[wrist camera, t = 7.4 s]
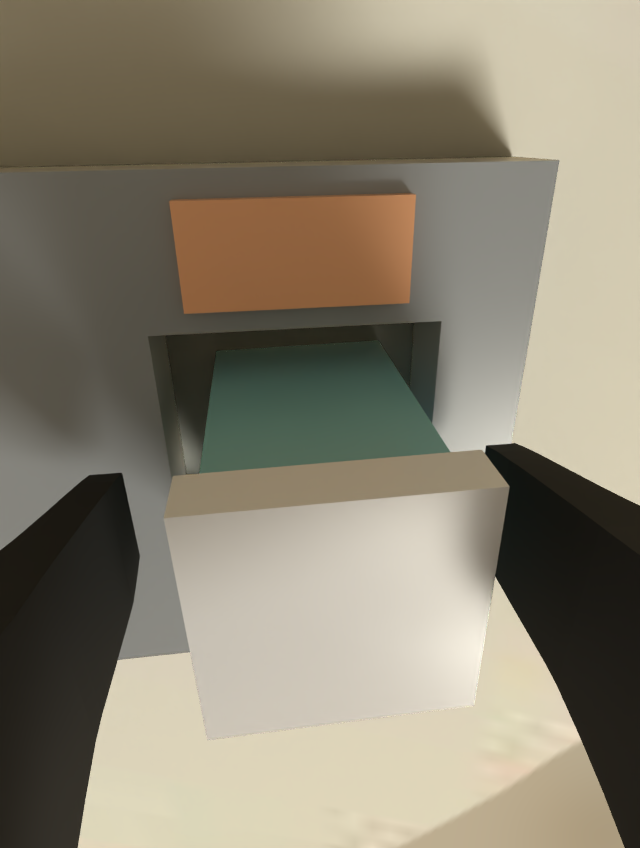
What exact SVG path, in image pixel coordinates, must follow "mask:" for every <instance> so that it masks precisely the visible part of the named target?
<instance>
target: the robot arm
mask: <svg viewBox="0 0 640 848" xmlns="http://www.w3.org/2000/svg"><path fill="white" fill-rule="evenodd" d="M485 454H486V456H487V457H488V458H489V460H490V461H491V462H492V464H493V465H494V466H495V468H496V469H497V470H498V472H499V473H500V474H501V476H502V477H503V478H504V480H505V481H506V482H507V484H508V485H509V486H510V487H509V493H508V499H507V505H506V512H505V518H504V524H503V530H502V536H501V543H500V549H499V555H498V561H497V568H496V574H495V576H496V578H497V580H498V582H499V584H500V585H501V587H502V589H503V591H504V592H505V594H506V596H507V598H508V599H509V601H510V603H511V605H512V606H513V608H514V610H515V612H516V613H517V615H518V617H519V619H520V620H521V622H522V624H523V625H524V627H525V629H526V631H527V632H528V634H529V636H530V638H531V639H532V641H533V643H534V644H535V646H536V648H537V650H538V651H539V653H540V655H541V657H542V658H543V660H544V662H545V664H546V665H547V667H548V669H549V671H550V673H551V675H552V677H553V679H554V681H555V683H556V685H557V687H558V689H559V691H560V693H561V695H562V698H563V700H564V702H565V704H566V707H567V709H568V711H569V713H570V716H571V718H572V720H573V722H574V724H575V727H576V729H577V731H578V733H579V736H580V738H581V740H582V743H583V745H584V747H585V750H586V752H587V754H588V757H589V759H590V762H591V764H592V766H593V769H594V771H595V774H596V776H597V778H598V781H599V783H600V785H601V788H602V790H603V793H604V795H605V798H606V800H607V803H608V806H609V808H610V811H611V813H612V816H613V819H614V821H615V824H616V826H617V829H618V832H619V834H620V837H621V839H622V842H623V844H624V847H625V848H640V506H639V505H637V504H635V503H633V502H631V501H629V500H627V499H625V498H623V497H621V496H619V495H617V494H615V493H613V492H611V491H609V490H607V489H605V488H603V487H601V486H599V485H597V484H595V483H593V482H591V481H589V480H587V479H585V478H583V477H582V476H580V475H578V474H576V473H574V472H572V471H570V470H568V469H566V468H565V467H563V466H561V465H559V464H557V463H555V462H553V461H551V460H549V459H547V458H545V457H544V456H542V455H540V454H538V453H536V452H534V451H531V450H529V449H527V448H525V447H523V446H520V445H518V444H515V443H512V444H499V445H486V449H485ZM139 560H140V553H139V549H138V544H137V540H136V535H135V530H134V526H133V521H132V516H131V512H130V507H129V502H128V498H127V493H126V488H125V484H124V479H123V474H122V473H110V474H96V475H89V476H87V477H86V478H85V479H83V480H82V481H81V482H80V483H79V484H77V485H76V486H75V487H74V488H73V489H72V490H70V491H69V492H68V493H67V494H66V495H65V496H64V497H62V498H61V499H60V500H59V501H58V502H57V503H56V504H54V505H53V506H52V507H51V508H50V509H49V510H48V511H47V512H45V513H44V514H43V515H42V516H41V517H40V518H38V519H37V520H36V521H35V522H34V523H33V524H31V525H30V526H29V527H28V528H27V529H26V530H24V531H23V532H22V533H21V534H20V535H19V536H17V537H16V538H15V539H14V540H13V541H11V542H10V543H9V544H8V545H6V546H5V547H4V548H2V549H1V550H0V848H77V847H78V841H79V835H80V829H81V823H82V816H83V810H84V804H85V798H86V792H87V787H88V781H89V776H90V770H91V765H92V759H93V753H94V748H95V742H96V738H97V734H98V729H99V725H100V721H101V717H102V713H103V709H104V706H105V702H106V699H107V695H108V692H109V688H110V685H111V681H112V678H113V674H114V671H115V667H116V664H117V660H118V657H119V653H120V650H121V646H122V643H123V639H124V636H125V632H126V629H127V625H128V621H129V618H130V614H131V610H132V607H133V603H134V596H135V590H136V583H137V576H138V568H139Z"/></svg>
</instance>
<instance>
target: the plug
mask: <svg viewBox="0 0 640 848" xmlns="http://www.w3.org/2000/svg"><path fill="white" fill-rule="evenodd" d="M509 487H510V486H509V485H508V484H507V482H506V481H505V480H504V478H503V477H502V476H501V474H500V473H499V472H498V470H497V469H496V468H495V466H494V465H493V464H492V462H491V461H490V460H489V458H488V457H487V456H486V454H485V453H484V452H483V450H471V451H459V452H450V451H449V449H448V447H447V446H446V444H445V443H444V441H443V440H442V438H441V437H440V435H439V433H438V432H437V430H436V429H435V427H434V426H433V424H432V423H431V421H430V420H429V418H428V416H427V415H426V413H425V412H424V410H423V409H422V407H421V406H420V404H419V402H418V401H417V399H416V398H415V396H414V395H413V393H412V392H411V390H410V389H409V387H408V385H407V384H406V382H405V381H404V379H403V378H402V376H401V375H400V373H399V371H398V370H397V368H396V367H395V365H394V364H393V362H392V361H391V359H390V357H389V356H388V354H387V353H386V351H385V350H384V348H383V347H382V345H381V344H380V342H379V340H376V341H360V342H345V343H329V344H314V345H299V346H284V347H268V348H253V349H238V350H222V351H216V357H215V364H214V371H213V378H212V385H211V393H210V400H209V407H208V414H207V421H206V428H205V435H204V443H203V450H202V457H201V464H200V471H199V474H188V475H177V476H173V477H172V482H171V487H170V491H169V496H168V500H167V505H166V510H165V514H164V523H165V528H166V533H167V538H168V543H169V548H170V553H171V558H172V563H173V568H174V573H175V579H176V584H177V589H178V594H179V599H180V604H181V609H182V614H183V619H184V624H185V629H186V634H187V639H188V645H189V650H190V655H191V660H192V665H193V670H194V675H195V680H196V685H197V690H198V695H199V700H200V705H201V711H202V716H203V721H204V726H205V731H206V736H207V740H214V739H221V738H229V737H237V736H245V735H252V734H260V733H268V732H276V731H283V730H291V729H299V728H307V727H314V726H322V725H330V724H338V723H345V722H353V721H361V720H369V719H376V718H384V717H392V716H400V715H407V714H415V713H423V712H431V711H439V710H446V709H454V708H462V707H470V706H474V704H475V698H476V692H477V685H478V679H479V673H480V667H481V661H482V654H483V648H484V642H485V636H486V630H487V623H488V617H489V611H490V605H491V599H492V592H493V586H494V580H495V574H496V568H497V561H498V555H499V549H500V543H501V536H502V530H503V524H504V518H505V512H506V505H507V499H508V493H509Z"/></svg>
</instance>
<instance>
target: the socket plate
mask: <svg viewBox="0 0 640 848" xmlns="http://www.w3.org/2000/svg"><path fill="white" fill-rule="evenodd" d="M558 165H559V160H550V159H537V158H524V157H475V158H428V159H381V160H334V161H287V162H240V163H193V164H146V165H99V166H52V167H5V168H0V550H1V549H2V548H4V547H5V546H6V545H8V544H9V543H10V542H11V541H13V540H14V539H15V538H16V537H17V536H19V535H20V534H21V533H22V532H23V531H24V530H26V529H27V528H28V527H29V526H30V525H31V524H33V523H34V522H35V521H36V520H37V519H38V518H40V517H41V516H42V515H43V514H44V513H45V512H47V511H48V510H49V509H50V508H51V507H52V506H53V505H54V504H56V503H57V502H58V501H59V500H60V499H61V498H62V497H64V496H65V495H66V494H67V493H68V492H69V491H70V490H72V489H73V488H74V487H75V486H76V485H77V484H79V483H80V482H81V481H82V480H83V479H85V478H86V477H87V476H89V475H96V474H110V473H122V474H123V479H124V484H125V488H126V493H127V498H128V502H129V507H130V512H131V516H132V521H133V526H134V530H135V535H136V540H137V544H138V549H139V553H140V560H139V568H138V576H137V583H136V590H135V596H134V603H133V607H132V610H131V614H130V618H129V621H128V625H127V629H126V632H125V636H124V639H123V643H122V646H121V650H120V653H119V657H118V660H121V659H130V658H140V657H149V656H158V655H168V654H177V653H186V652H190V650H189V645H188V639H187V634H186V629H185V624H184V619H183V614H182V609H181V604H180V599H179V594H178V589H177V584H176V579H175V573H174V568H173V563H172V558H171V553H170V548H169V543H168V538H167V533H166V528H165V523H164V514H165V510H166V505H167V500H168V496H169V491H170V487H171V482H172V477H173V476H177V475H186V468H185V461H184V455H183V448H182V441H181V435H180V428H179V422H178V415H177V408H176V402H175V395H174V388H173V382H172V375H171V369H170V362H169V355H168V349H167V342H166V335H181V334H201V333H220V332H240V331H259V330H279V329H298V328H318V327H338V326H357V325H377V324H396V323H414V329H413V344H412V359H411V374H410V390H411V392H412V393H413V395H414V396H415V398H416V399H417V401H418V402H419V404H420V406H421V407H422V409H423V410H424V412H425V413H426V415H427V416H428V418H429V420H430V421H431V423H432V424H433V426H434V427H435V429H436V430H437V432H438V433H439V435H440V437H441V438H442V440H443V441H444V443H445V444H446V446H447V447H448V449H449V451H450V452H459V451H471V450H483V452H484V453H485V449H486V445H499V444H511V443H512V437H513V431H514V426H515V420H516V414H517V408H518V402H519V396H520V390H521V384H522V378H523V372H524V366H525V360H526V354H527V349H528V343H529V337H530V331H531V325H532V319H533V313H534V307H535V301H536V295H537V289H538V283H539V278H540V272H541V266H542V260H543V254H544V248H545V242H546V236H547V230H548V224H549V218H550V212H551V206H552V201H553V195H554V189H555V183H556V177H557V171H558Z"/></svg>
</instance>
